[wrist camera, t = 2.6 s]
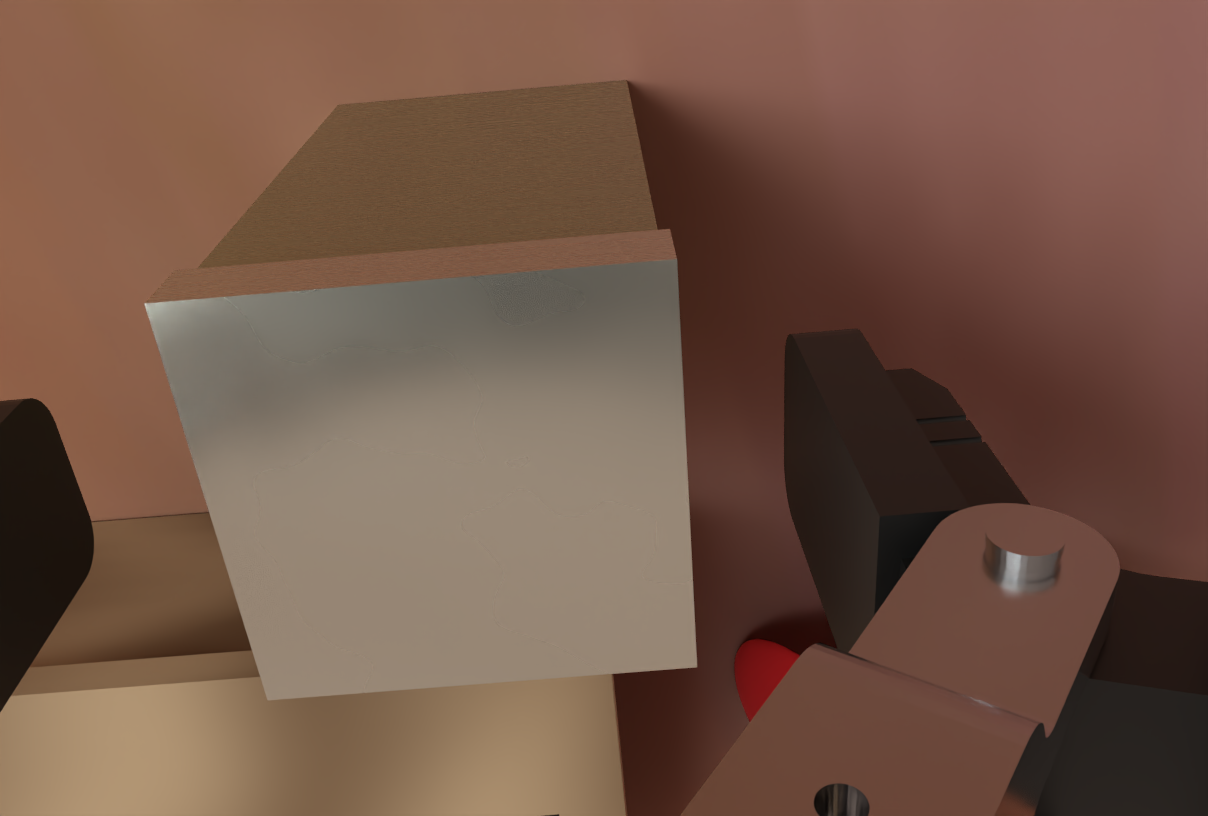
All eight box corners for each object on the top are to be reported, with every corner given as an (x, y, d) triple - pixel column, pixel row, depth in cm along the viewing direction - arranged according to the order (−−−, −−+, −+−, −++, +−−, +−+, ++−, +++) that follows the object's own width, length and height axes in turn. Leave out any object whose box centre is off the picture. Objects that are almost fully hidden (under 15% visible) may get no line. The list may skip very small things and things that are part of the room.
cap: (1211, 542, 17) (947, 713, 14) (1289, 871, 18) (1054, 1089, 15) (871, 505, 24) (654, 615, 21) (939, 742, 25) (738, 875, 22)
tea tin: (632, 72, 16) (677, 259, 9) (650, 347, 19) (697, 667, 12) (330, 99, 16) (143, 303, 9) (384, 369, 19) (266, 701, 12)
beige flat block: (601, 467, 20) (608, 650, 15) (638, 853, 25) (651, 1073, 20) (38, 512, 20) (-115, 705, 16) (188, 886, 25) (105, 1111, 21)
